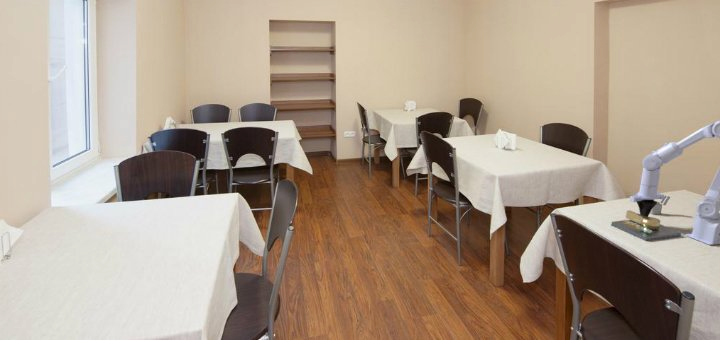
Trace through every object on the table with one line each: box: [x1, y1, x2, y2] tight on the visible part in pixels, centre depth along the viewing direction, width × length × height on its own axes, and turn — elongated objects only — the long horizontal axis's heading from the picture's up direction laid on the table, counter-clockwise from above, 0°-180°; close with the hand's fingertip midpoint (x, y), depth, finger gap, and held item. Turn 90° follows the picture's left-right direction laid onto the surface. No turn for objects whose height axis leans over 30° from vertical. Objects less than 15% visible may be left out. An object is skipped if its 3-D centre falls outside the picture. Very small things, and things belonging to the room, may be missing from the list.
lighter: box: [649, 194, 671, 215], centre depth 190 cm, size 7×2×8 cm, turn 96°
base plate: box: [610, 219, 682, 242], centre depth 172 cm, size 16×16×3 cm
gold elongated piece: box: [625, 210, 661, 230], centre depth 174 cm, size 14×6×3 cm, turn 15°
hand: (643, 217), depth 178 cm, fingers closed
